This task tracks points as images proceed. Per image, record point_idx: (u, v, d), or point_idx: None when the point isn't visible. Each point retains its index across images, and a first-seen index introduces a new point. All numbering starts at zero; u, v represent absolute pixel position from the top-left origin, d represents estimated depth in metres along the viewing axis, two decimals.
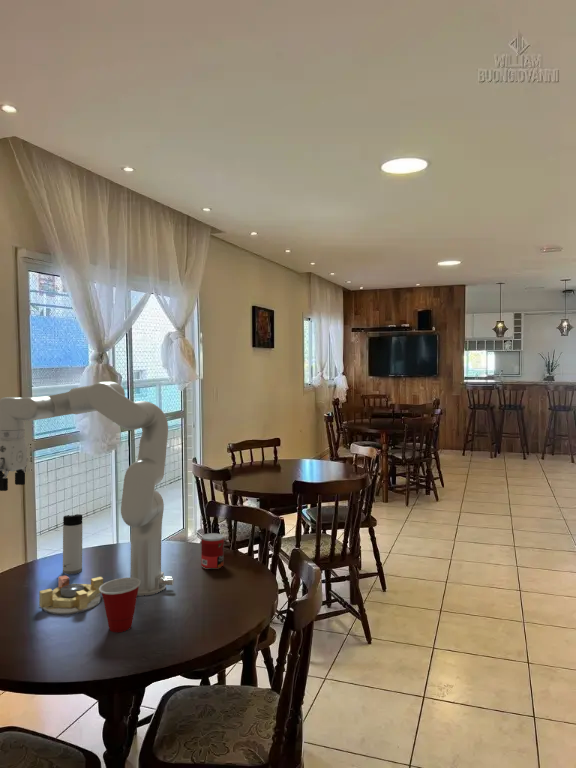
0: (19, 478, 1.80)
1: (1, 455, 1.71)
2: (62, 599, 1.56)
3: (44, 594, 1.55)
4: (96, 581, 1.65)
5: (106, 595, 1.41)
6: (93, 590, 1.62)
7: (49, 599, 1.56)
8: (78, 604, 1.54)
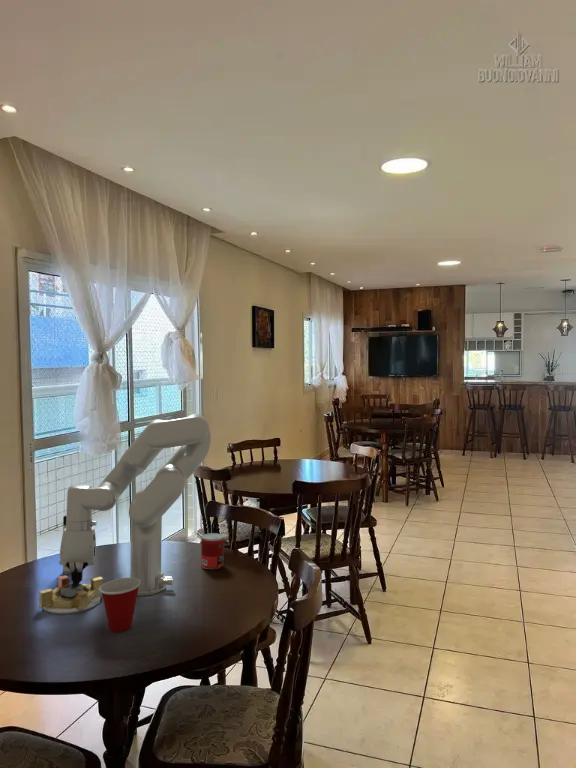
0: None
1: (94, 544, 1.69)
2: (62, 599, 1.56)
3: (44, 594, 1.55)
4: (96, 581, 1.65)
5: (106, 595, 1.41)
6: (93, 590, 1.62)
7: (49, 599, 1.56)
8: (78, 604, 1.54)
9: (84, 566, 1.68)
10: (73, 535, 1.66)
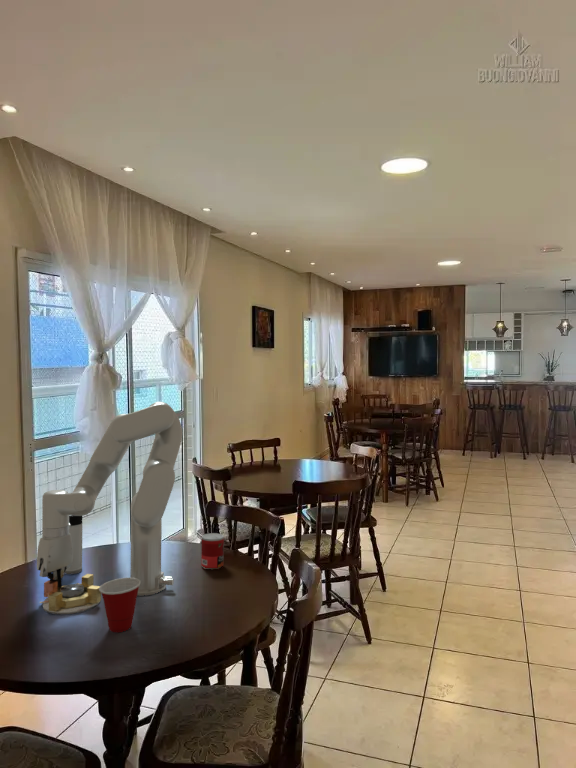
0: None
1: None
2: (74, 598, 1.56)
3: (57, 597, 1.53)
4: (89, 578, 1.68)
5: (106, 595, 1.41)
6: (91, 586, 1.66)
7: (60, 601, 1.54)
8: (94, 598, 1.58)
9: (64, 570, 1.67)
10: (59, 541, 1.63)
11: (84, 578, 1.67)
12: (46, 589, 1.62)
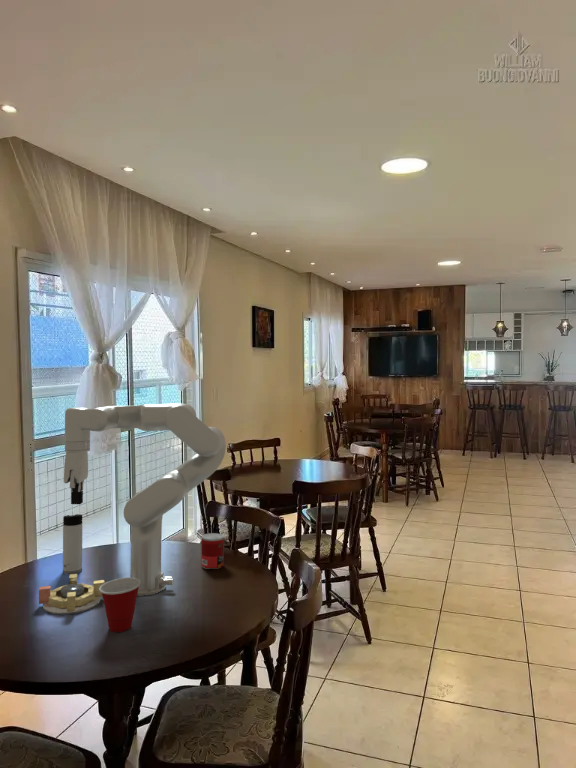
0: None
1: None
2: (85, 595, 1.59)
3: (75, 596, 1.54)
4: None
5: (106, 595, 1.41)
6: (82, 584, 1.67)
7: (75, 600, 1.55)
8: None
9: None
10: (84, 454, 1.71)
11: (72, 578, 1.67)
12: (42, 595, 1.57)
